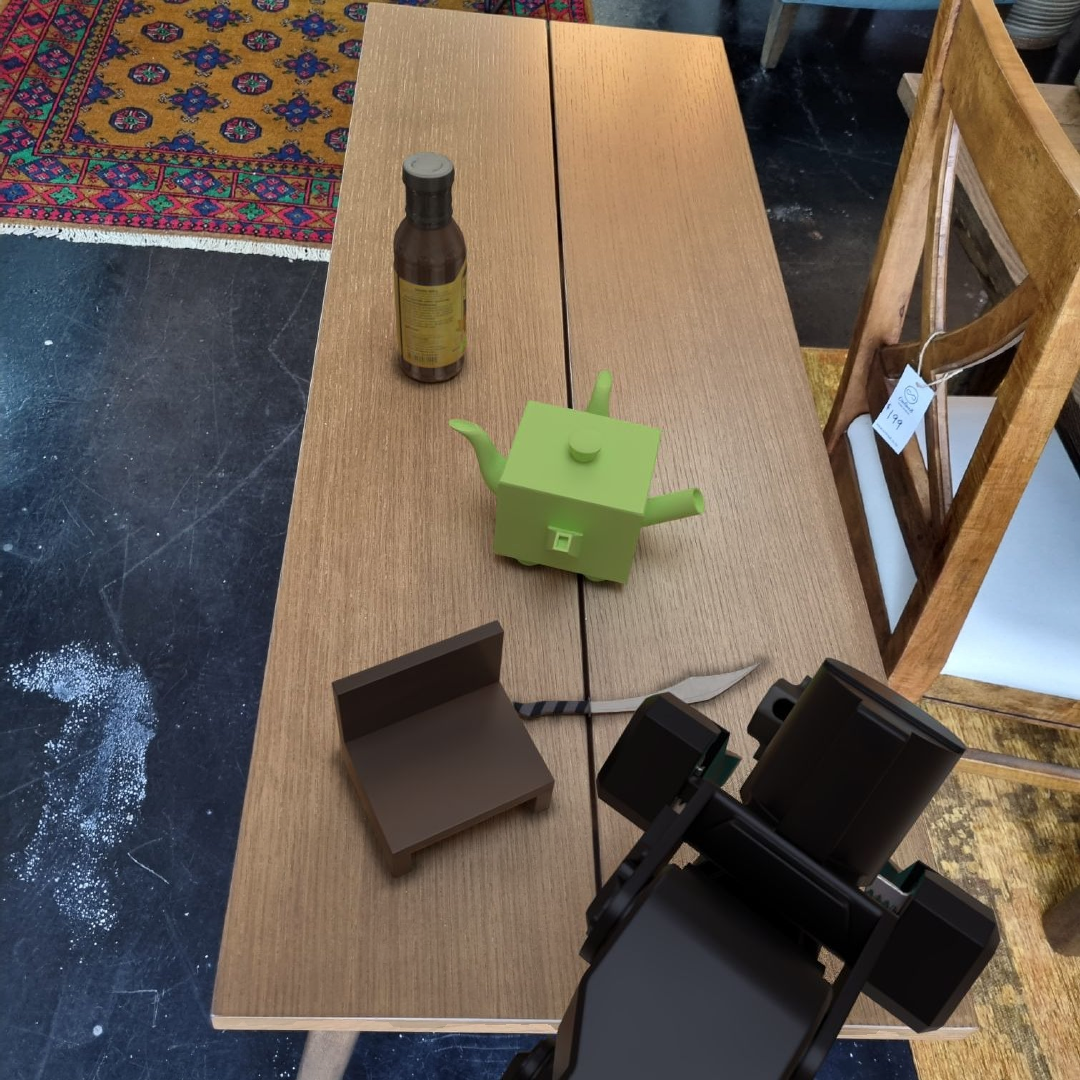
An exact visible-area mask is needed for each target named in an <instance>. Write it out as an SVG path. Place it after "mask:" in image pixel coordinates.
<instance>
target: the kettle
mask: <svg viewBox="0 0 1080 1080" xmlns="http://www.w3.org/2000/svg"><path fill="white" fill-rule="evenodd" d="M613 379H614V378H613V373H612V371H610V370H609V369H603V370H602V371H600V372H599V373H598V375H597V377H596V380H595V383H594V386H593V390H592V393H591V396H590V399H589V401H588V404H587V405H586V408H585V410H584V411H583V410H577V409H573V408H570V407H569V408H568V407H564V406H560V405H554V404H551V403H545V402H541V401H536V400H529V399H528V400H527V401H526V405H525V406H524V407H525V408H524V411H523V414H522V415H521V418H520V422H519V424H518V426H517V430H516V432H515V436H514V438H513V441H512V444H511V446H510V449H509V453H508V455H507V457H506V456H505V455H502V453H500V451H498V449H497V447H496V446H495V444H494V442H493V440H492V438H491V437H490V435H489V434H488V433H487V432H486V430H484V429H483V428H482V427H481V426H480V425H478V424H476V423H475V422H472V421H469V420H465V419H460V418H453V419H452V418H451V419H450V420H448V425H449V426H450V427H451V429H453V430H454V431H456V432H457V433H459V434H461V435H462V436H463V437H465V439H467V441H468V442H469V443H470V445H471V446H472V448H473V451H474V453H475V456H476V460H477V464H478V468H479V471H480V475H481V478H482V480H483V482H484V484H485V485H486V488H488V491H490V492H491V493H492V494H493V495H495V497H497V498H496V509H495V510H496V511H495V524H494V538H493V550H492V553H493V554H496V555H499V556H505V557H509V558H512V559H516V560H517V561H518V562H519V563H520V564H522V565H523V566H529V567H530V566H536V565H543V566H546V567H551V568H556V569H560V570H564V571H567V572H572V573H576V574H582V575H583V576H584V577H585V578H586V579H587V580H590V581H592V582H596V583H597V582H599V583H600V582H603V581H605V580H607V581H610V582H614V583H620V584H624V585H627V584H628V582H629V581H628V580H629V577H630V573H631V569H632V564H633V561H634V557H635V552H636V548H637V545H638V541H639V537H640V533H641V528H645V527H650V526H654V525H659V524H663V523H667V522H673V521H676V520H681V519H686V518H691V517H695V516H700V515H703V514H704V513H705V510H706V502H705V498H704V495H703V492H702V491H701V490H700V488H698V487H696V486H695V487H691V488H687V489H682V490H679V491H673V492H670V493H666V494H661V495H657V496H653V497H649V494H650V489H651V486H652V480H653V475H654V472H655V467H656V463H657V459H658V453H659V450H660V449H659V448H660V444H661V439H662V435H663V429H662V428H658V427H653V426H649V425H645V424H641V423H636V422H632V421H627V420H623V419H618V418H615V417H610V398H611V392H612V387H613Z"/></svg>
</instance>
